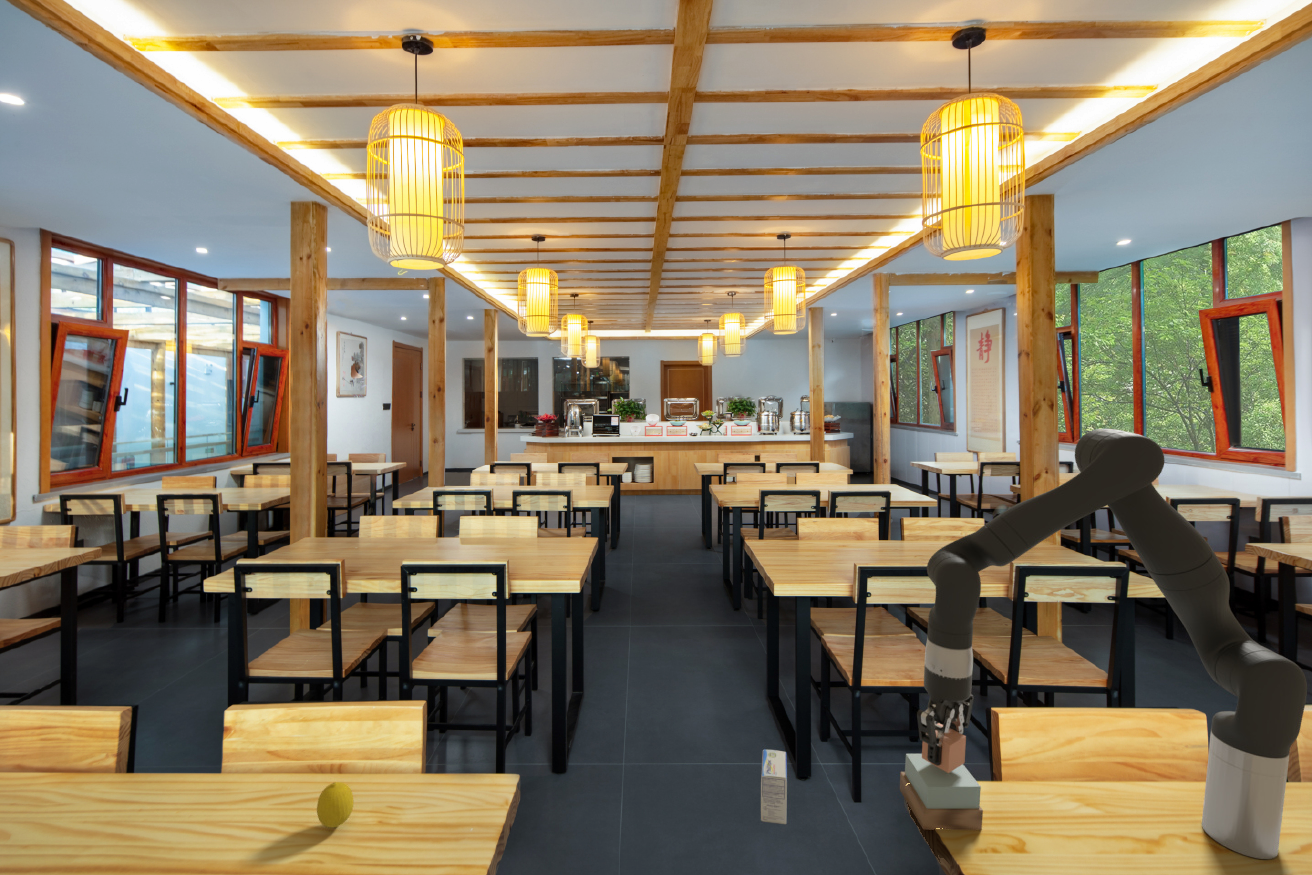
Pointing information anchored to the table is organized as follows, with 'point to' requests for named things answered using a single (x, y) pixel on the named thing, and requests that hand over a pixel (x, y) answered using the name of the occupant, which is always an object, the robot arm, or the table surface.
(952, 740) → the terracotta block
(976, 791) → the tower top block
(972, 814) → the tower base block
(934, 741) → the robot arm
